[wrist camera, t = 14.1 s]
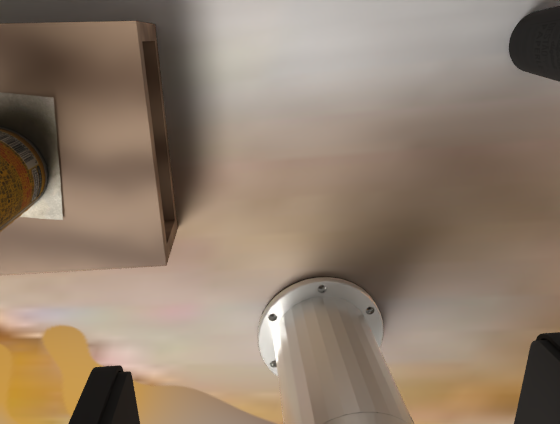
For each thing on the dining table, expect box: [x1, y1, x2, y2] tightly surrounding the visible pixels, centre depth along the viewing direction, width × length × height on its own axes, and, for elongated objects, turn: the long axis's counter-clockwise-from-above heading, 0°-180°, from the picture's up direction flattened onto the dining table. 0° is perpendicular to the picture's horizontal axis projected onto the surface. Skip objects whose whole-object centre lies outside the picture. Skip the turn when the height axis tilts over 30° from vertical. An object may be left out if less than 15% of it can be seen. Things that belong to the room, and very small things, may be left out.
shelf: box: [0, 21, 178, 276], centre depth 34 cm, size 17×20×7 cm
